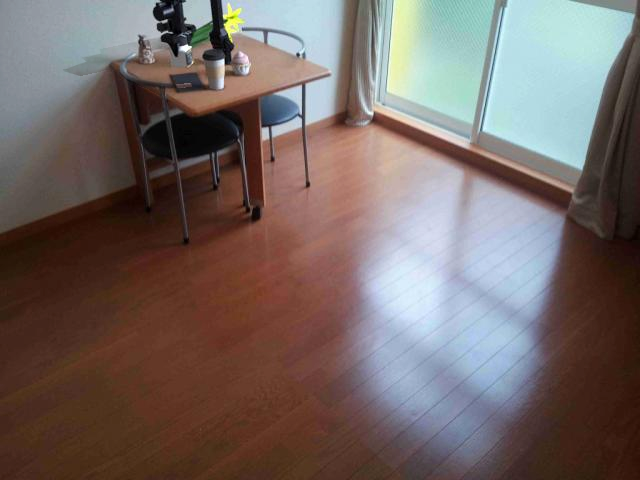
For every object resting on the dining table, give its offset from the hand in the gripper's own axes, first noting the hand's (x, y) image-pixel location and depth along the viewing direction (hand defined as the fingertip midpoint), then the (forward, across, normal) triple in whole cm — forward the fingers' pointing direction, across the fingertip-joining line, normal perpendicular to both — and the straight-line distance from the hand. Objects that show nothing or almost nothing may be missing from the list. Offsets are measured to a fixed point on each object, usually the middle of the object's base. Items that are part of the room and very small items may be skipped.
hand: (181, 54), depth 240 cm
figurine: (+12, -15, -29) cm, 35 cm away
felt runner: (+12, +1, +2) cm, 12 cm away
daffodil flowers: (+12, -47, -13) cm, 50 cm away
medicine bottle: (+5, 0, 0) cm, 5 cm away
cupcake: (+12, -18, +18) cm, 28 cm away
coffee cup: (+12, +1, +16) cm, 20 cm away
